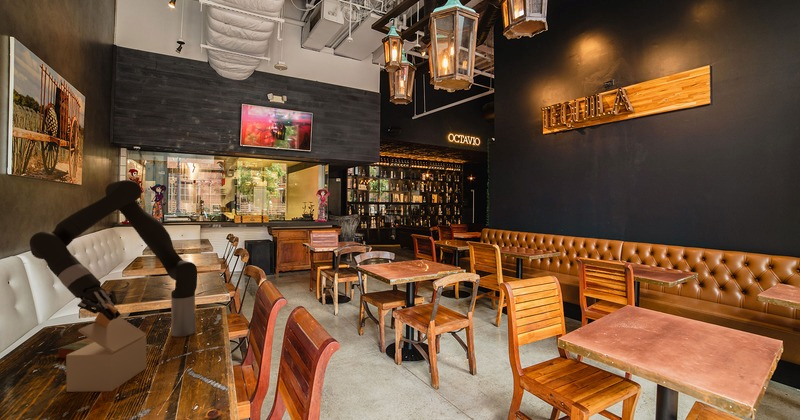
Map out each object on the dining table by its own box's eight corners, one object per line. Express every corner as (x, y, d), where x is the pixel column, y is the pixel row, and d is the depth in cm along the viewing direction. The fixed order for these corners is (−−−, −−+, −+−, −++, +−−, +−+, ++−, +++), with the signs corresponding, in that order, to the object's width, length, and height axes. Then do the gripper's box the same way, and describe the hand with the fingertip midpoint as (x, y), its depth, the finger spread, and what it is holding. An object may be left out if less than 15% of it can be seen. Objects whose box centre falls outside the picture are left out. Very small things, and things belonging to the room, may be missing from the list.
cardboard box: (146, 368, 129) (146, 336, 129) (111, 391, 113) (111, 354, 113) (107, 368, 129) (106, 336, 129) (66, 391, 113) (66, 355, 113)
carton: (116, 344, 152) (116, 334, 152) (75, 360, 136) (75, 349, 136) (100, 342, 153) (100, 332, 153) (57, 358, 138) (57, 347, 137)
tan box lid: (145, 335, 128) (156, 319, 128) (112, 353, 113) (125, 334, 113) (112, 314, 128) (123, 297, 128) (75, 329, 113) (87, 310, 113)
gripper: (69, 277, 113) (107, 316, 114) (104, 269, 127) (138, 304, 127) (52, 293, 113) (90, 332, 114) (88, 283, 127) (123, 318, 127)
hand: (115, 317), depth 121 cm, fingers closed
